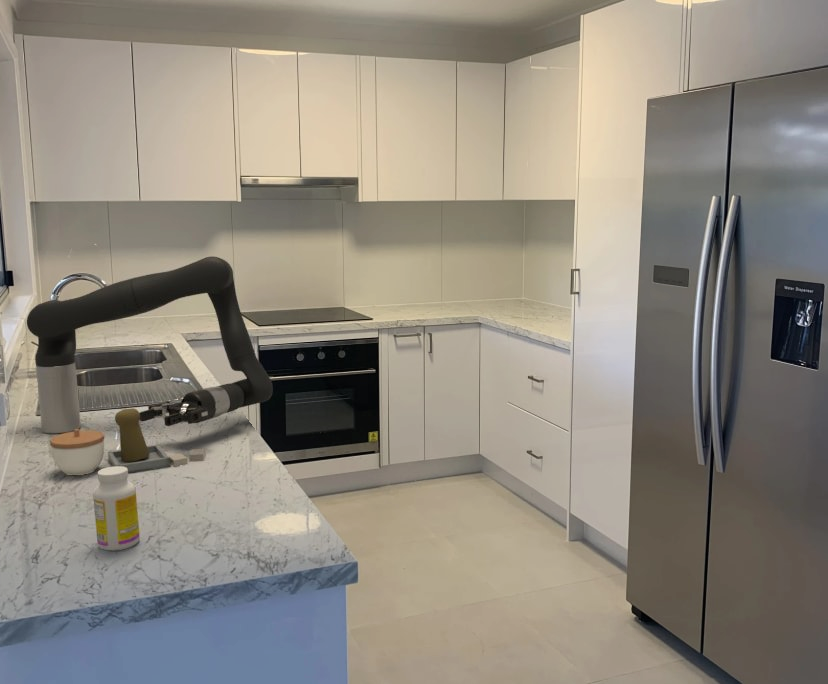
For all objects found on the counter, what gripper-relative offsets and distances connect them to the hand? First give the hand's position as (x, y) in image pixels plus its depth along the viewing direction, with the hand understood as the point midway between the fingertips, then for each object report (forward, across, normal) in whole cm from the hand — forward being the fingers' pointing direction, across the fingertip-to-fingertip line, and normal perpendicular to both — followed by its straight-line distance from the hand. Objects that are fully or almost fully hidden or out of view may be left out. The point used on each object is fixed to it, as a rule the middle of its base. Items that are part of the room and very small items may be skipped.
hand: (152, 419), depth 181 cm
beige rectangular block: (-4, +9, +9) cm, 14 cm away
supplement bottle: (+37, +34, +9) cm, 51 cm away
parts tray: (+5, +1, +9) cm, 10 cm away
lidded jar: (+15, -6, +9) cm, 19 cm away
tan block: (+1, +8, +9) cm, 12 cm away
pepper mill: (+5, -1, +8) cm, 9 cm away
